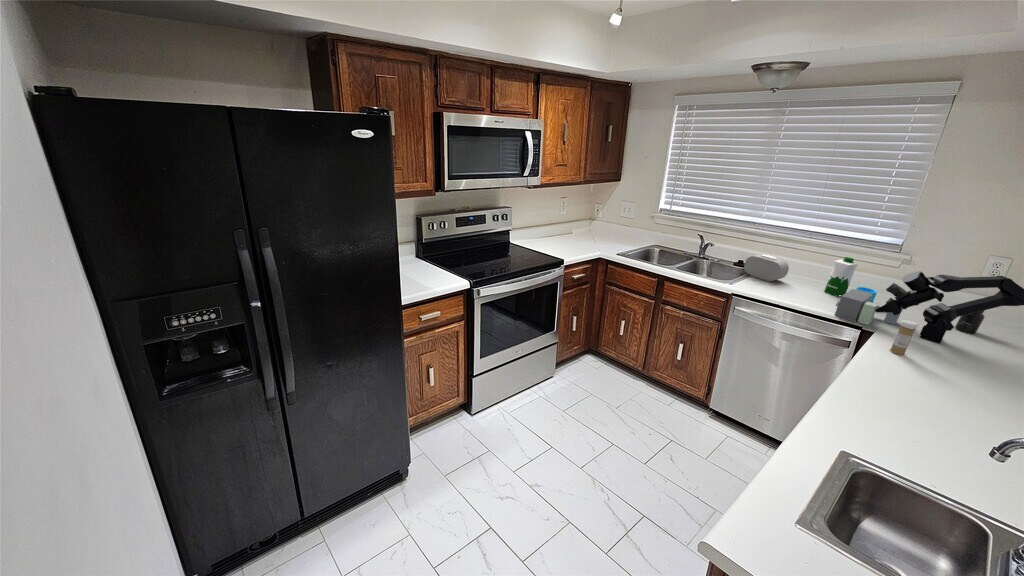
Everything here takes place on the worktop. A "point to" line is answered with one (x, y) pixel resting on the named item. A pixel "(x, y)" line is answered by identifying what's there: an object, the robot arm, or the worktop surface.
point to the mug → (868, 292)
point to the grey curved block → (852, 304)
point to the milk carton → (840, 276)
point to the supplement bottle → (970, 322)
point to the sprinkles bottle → (903, 337)
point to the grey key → (891, 317)
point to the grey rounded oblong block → (766, 267)
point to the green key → (866, 312)
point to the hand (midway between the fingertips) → (875, 311)
